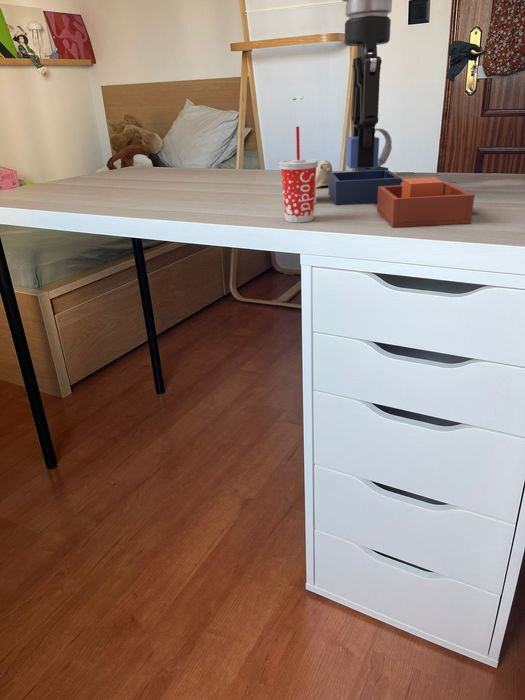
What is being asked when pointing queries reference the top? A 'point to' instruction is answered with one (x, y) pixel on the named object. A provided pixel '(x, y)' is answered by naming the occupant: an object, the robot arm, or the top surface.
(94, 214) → the top surface
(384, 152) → the watch
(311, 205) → the beverage cup
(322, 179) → the decorative ornament
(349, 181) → the navy bin
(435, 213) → the rust bin
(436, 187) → the terracotta block
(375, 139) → the slate blue block
